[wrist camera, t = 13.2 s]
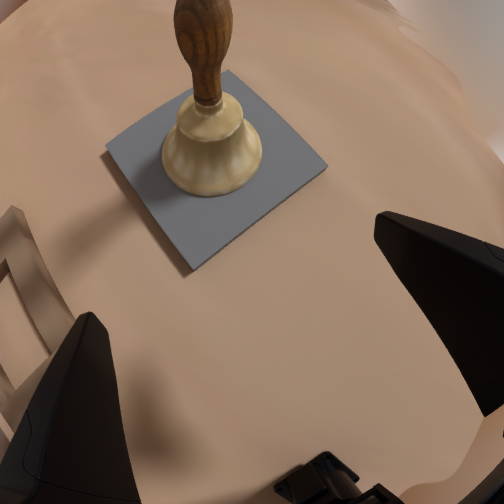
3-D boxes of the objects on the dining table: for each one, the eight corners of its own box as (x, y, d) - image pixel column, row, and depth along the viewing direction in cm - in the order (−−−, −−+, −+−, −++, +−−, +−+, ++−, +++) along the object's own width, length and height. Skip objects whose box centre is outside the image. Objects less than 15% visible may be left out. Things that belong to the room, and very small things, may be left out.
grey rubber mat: (324, 170, 23) (328, 165, 22) (194, 271, 21) (193, 269, 20) (228, 76, 24) (228, 69, 23) (108, 150, 22) (104, 145, 21)
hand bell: (270, 189, 21) (348, 16, 6) (164, 204, 20) (70, 42, 5) (253, 107, 22) (283, -52, 7) (161, 119, 21) (117, -37, 6)
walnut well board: (111, 371, 19) (101, 377, 17) (29, 435, 16) (20, 441, 14) (22, 210, 20) (11, 205, 18) (-40, 299, 17) (-51, 299, 15)
